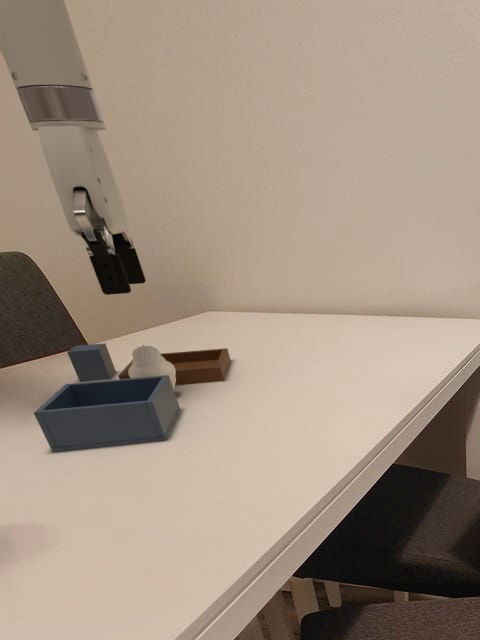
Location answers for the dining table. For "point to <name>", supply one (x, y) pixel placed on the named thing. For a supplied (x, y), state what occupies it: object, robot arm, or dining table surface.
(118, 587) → the dining table surface
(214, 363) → the brown tray
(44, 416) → the blue bin
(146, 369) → the muffin
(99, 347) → the blue block
